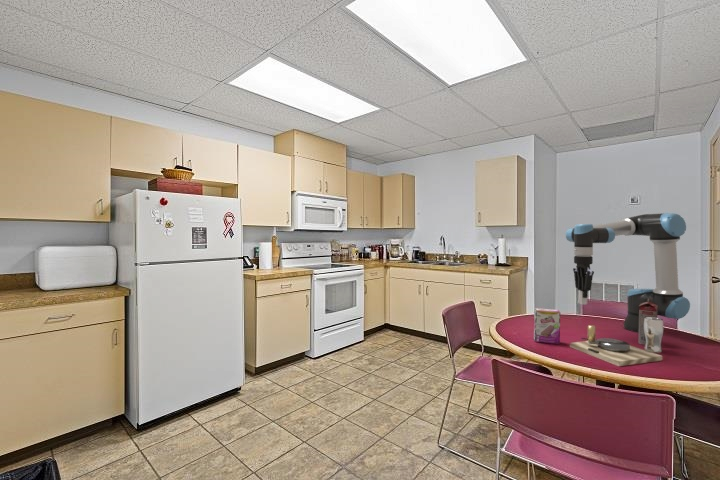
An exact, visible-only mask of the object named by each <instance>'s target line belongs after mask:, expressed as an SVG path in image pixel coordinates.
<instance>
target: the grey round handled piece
mask: <svg viewBox="0 0 720 480" xmlns="http://www.w3.org/2000/svg"><path fill="white" fill-rule="evenodd" d="M580 339H581V340H586V341H588V342H589V344H597V346H598V347H600V348H602V349H605V350H609V351H614V352H629V351H630V343H628V342H627V341H624V340H620V339H615V338H611V337H610V338H608V337H607V338H606V337H602V338H597V339H596V326H595V325H591V324H588V325H587V337H581V338H580Z"/></svg>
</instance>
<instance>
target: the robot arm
mask: <svg viewBox="0 0 720 480" xmlns="http://www.w3.org/2000/svg"><path fill="white" fill-rule="evenodd" d="M686 230H687V223H686V220H685V218H683V217H682V216H681V215H680V214H678V213H673V212H672V213H671V212H665V213H664V212H663V213H645V214H639V215H636V216H630V217H625V218H621V220H619V221H618V220H617V221H613V222H612V221H611V222H607V223H600V224H596V225H595V224H594V225H593V224H592V223H577V224H575V225H574V227H571V228H569V229H567V230H566V232H565V239H566V240H567V241H568V242H570V243H574V244H573V246H574V248H573V255H574V257H573V264H576V267H574V268H573V269H572V271H573V276H574V285H575V286H574V287H575V289H577V290H578V293H577V294H578V301H577V302H578V304H580V305H588V293H589V291H592V286H593V285H592V283H593V277H594V273H595V271H593V270H591V266H590V265H592V264H593V262H594V261H593V254H594V251H593V250H594V248H593V247H594V244H609V243H612V242H613V241H614V240H615V237H618V236H627V237H628V236H645V237H646V236H647V237H649V241H650V242H652V244H653V252H654V253H653V254H654V255H653V256H654V271H655V275H654V276H655V289H653V288H631V289H628V291H627V297H626V298H627V314H626V317H625V319H624V322H623V329H625V330H628V331H631V332H636V333H639V305H640V304H641V303H644V302H648V298H649V302H651V303H653V304H655V305H657V316H660V317H663V318H664V317H665V318H667V319H675V320H679V319H682V318H685V316H687V314H688V313H689V311H690V308H691V303H690V300H689V299H688V298H687V297H685V296H684V292H683V291H682V290H680V289H679V274H678V271H679V270H678V257H677V256H678V254H677V253H678V252H677V242H678V241H680V240H681V236H683V235H684V234H685V232H686Z"/></svg>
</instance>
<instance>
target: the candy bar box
mask: <svg viewBox="0 0 720 480" xmlns="http://www.w3.org/2000/svg"><path fill="white" fill-rule="evenodd" d="M533 310H534V311H533V313H534V316H533V340H534V342H535V343H543V344H552V345H554V344H555V345H560V344H561V343H560V340H561V311H560V310H559V309H549V308H548V309H547V308H537V307H534V309H533Z"/></svg>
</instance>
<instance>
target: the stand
mask: <svg viewBox="0 0 720 480" xmlns="http://www.w3.org/2000/svg"><path fill="white" fill-rule="evenodd" d="M569 347H570V348H571V349H574V350H576V351H578V352H581V353H584V354H587V355H588V356H589V355H590V356H592V357H594V358H597V359H600V360H601V361H605V362H607V363H610V364H612V365H614V366H617V367H624V366H625V367H626V366H631V365H639V364H645V363H652V362H660V361H663V355H661V354H659V353H655V352H650V351H647V350H645V349H643V348H639V347H637V346H634V345H630V351H629V352H614V351H609V350H605V349H602V348H600V347H598V346H597V344H589V342H588V340H585V341H584V340H583V341H576V342H573V341H572V342H570V343H569Z"/></svg>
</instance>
